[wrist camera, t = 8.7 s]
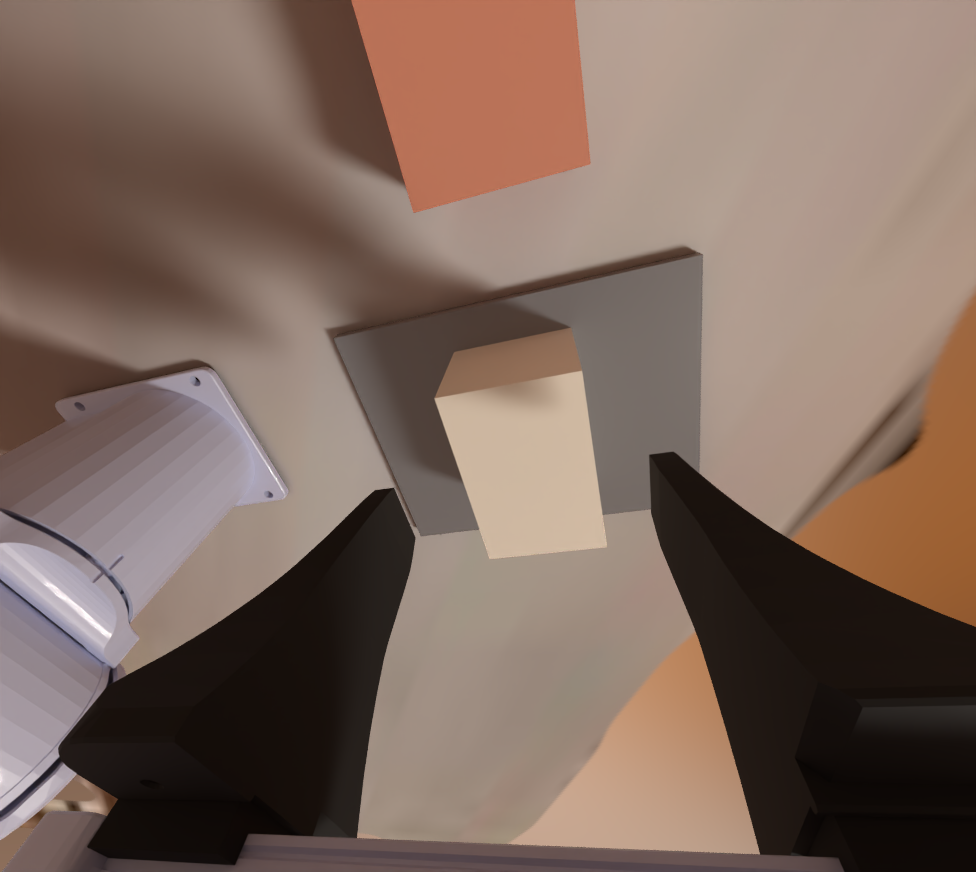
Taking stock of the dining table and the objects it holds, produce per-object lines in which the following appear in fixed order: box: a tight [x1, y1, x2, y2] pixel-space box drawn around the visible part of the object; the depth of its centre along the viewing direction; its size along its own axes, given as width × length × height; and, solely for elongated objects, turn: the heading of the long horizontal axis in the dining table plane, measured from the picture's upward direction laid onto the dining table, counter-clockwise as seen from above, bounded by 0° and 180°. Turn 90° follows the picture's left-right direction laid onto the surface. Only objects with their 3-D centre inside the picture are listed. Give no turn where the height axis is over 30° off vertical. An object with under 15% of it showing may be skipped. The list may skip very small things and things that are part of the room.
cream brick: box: [434, 328, 607, 559], centre depth 18 cm, size 5×8×4 cm, turn 14°
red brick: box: [351, 0, 590, 213], centre depth 11 cm, size 5×8×4 cm, turn 14°
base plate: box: [333, 253, 703, 536], centre depth 20 cm, size 15×12×1 cm
